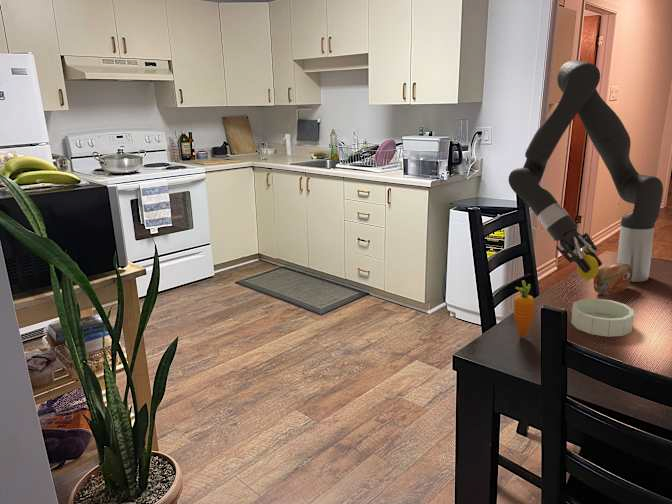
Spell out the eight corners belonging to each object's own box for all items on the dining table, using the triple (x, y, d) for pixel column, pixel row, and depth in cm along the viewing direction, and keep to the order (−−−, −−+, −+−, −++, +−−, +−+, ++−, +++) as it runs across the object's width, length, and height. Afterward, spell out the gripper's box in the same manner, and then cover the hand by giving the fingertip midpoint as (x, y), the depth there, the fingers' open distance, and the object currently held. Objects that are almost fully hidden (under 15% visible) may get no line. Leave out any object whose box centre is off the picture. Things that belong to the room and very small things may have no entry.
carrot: (530, 343, 125) (533, 286, 121) (509, 339, 128) (512, 284, 124) (534, 335, 129) (538, 280, 125) (514, 332, 132) (517, 277, 128)
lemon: (599, 284, 144) (602, 257, 142) (578, 284, 145) (580, 257, 143) (594, 277, 149) (596, 251, 147) (574, 277, 150) (575, 252, 148)
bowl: (592, 309, 142) (593, 294, 141) (643, 326, 131) (645, 310, 130) (560, 322, 136) (561, 307, 134) (610, 341, 124) (612, 324, 123)
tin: (599, 298, 150) (602, 271, 148) (590, 295, 153) (592, 268, 151) (631, 287, 157) (634, 261, 154) (622, 285, 159) (624, 259, 157)
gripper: (552, 219, 144) (590, 268, 138) (579, 209, 152) (616, 255, 146) (534, 234, 149) (570, 281, 143) (561, 224, 157) (597, 269, 151)
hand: (593, 268), depth 145 cm, fingers closed on lemon, 5 cm apart
